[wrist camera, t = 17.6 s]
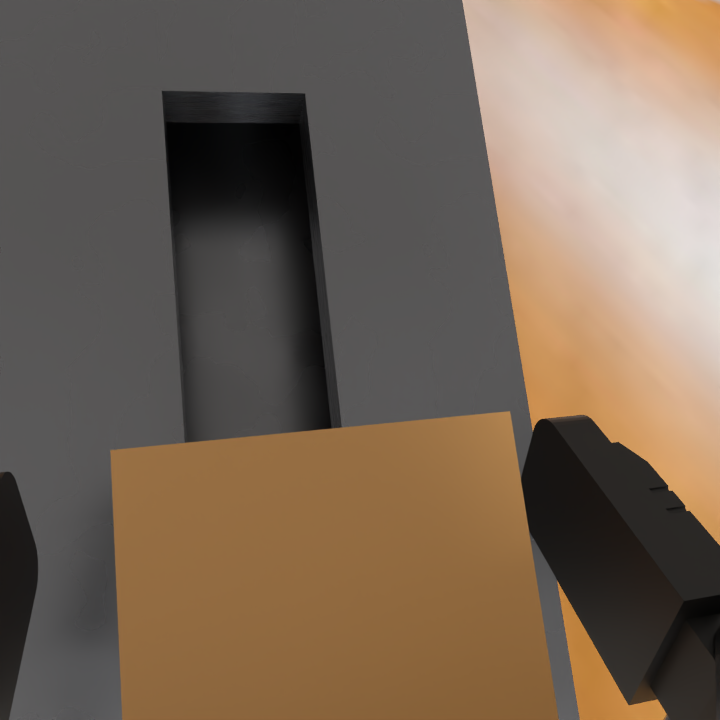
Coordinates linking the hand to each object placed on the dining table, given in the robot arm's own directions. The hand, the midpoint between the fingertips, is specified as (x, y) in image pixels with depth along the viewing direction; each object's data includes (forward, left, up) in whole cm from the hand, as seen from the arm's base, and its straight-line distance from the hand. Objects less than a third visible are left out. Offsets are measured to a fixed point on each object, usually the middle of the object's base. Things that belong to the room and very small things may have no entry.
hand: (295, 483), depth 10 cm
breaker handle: (+1, +1, -10) cm, 10 cm away
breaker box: (-2, -2, -12) cm, 12 cm away
